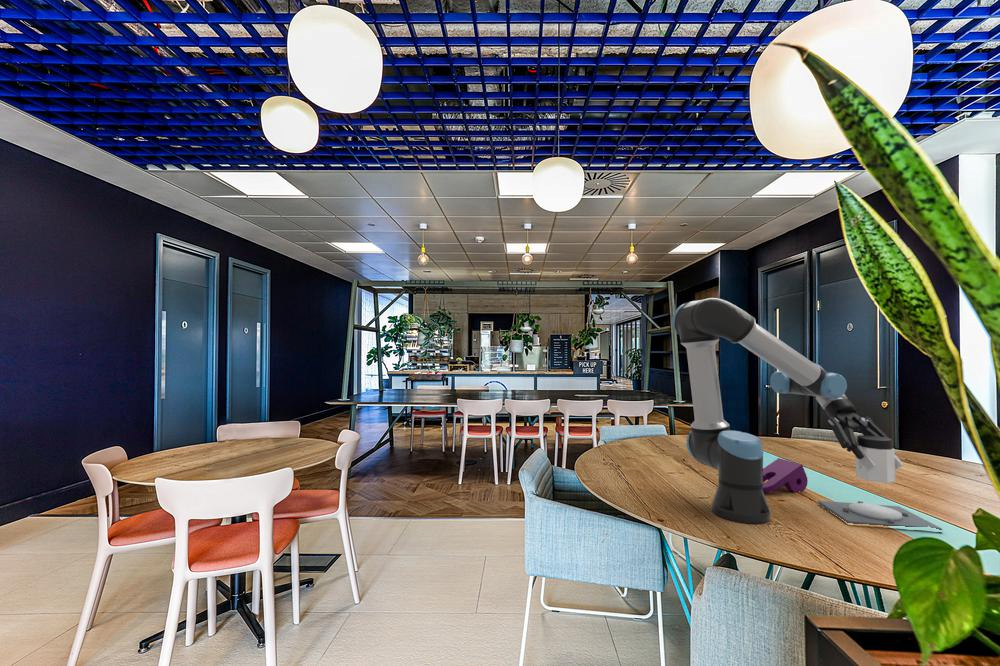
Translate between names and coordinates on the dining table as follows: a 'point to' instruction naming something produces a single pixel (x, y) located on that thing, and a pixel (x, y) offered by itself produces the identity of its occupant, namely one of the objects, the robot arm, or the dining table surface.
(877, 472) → the jar
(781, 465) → the mounting bracket
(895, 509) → the board
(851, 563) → the dining table surface
